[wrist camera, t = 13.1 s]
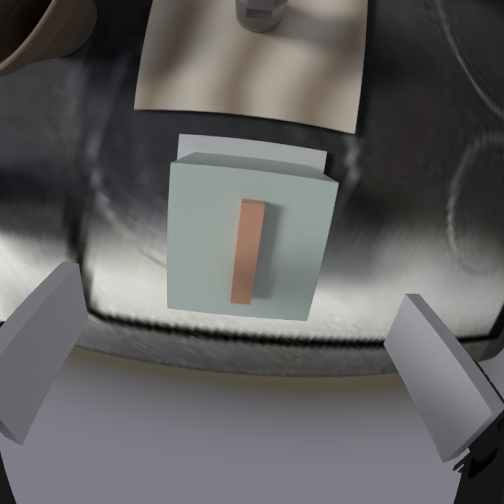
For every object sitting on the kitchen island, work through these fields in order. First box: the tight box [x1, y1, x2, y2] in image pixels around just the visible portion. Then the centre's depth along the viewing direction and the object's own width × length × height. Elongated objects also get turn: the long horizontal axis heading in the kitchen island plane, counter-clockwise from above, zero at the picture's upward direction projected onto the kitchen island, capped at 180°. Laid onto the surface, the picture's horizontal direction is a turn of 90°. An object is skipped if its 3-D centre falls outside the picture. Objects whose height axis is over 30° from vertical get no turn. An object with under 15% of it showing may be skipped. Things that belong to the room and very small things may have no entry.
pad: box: [177, 134, 327, 174], centre depth 25 cm, size 12×12×1 cm
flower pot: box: [0, 0, 97, 76], centre depth 13 cm, size 12×11×10 cm
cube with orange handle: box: [167, 152, 339, 321], centre depth 20 cm, size 9×9×9 cm
